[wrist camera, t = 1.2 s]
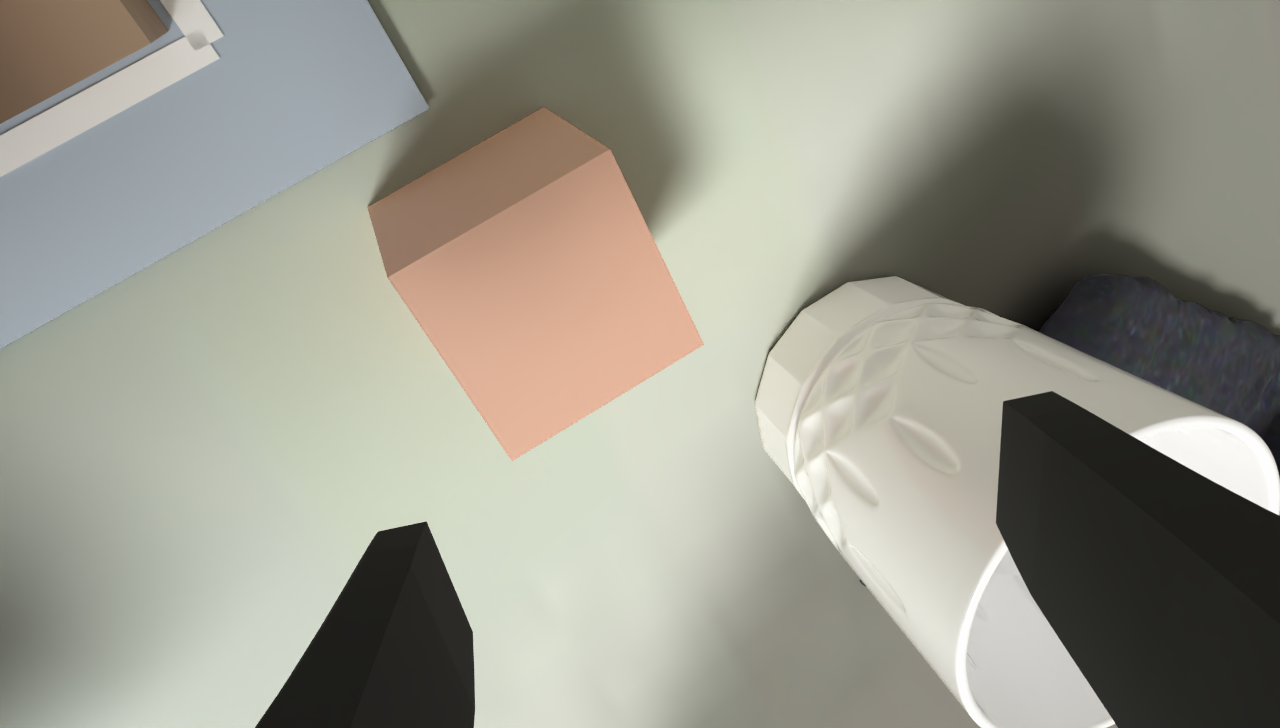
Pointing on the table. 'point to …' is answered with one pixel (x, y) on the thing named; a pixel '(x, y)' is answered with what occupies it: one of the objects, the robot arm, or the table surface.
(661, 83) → the table surface
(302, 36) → the blueprint board
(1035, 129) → the table surface
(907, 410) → the white cup
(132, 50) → the base block
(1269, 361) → the dark slate chunk
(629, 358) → the top block
